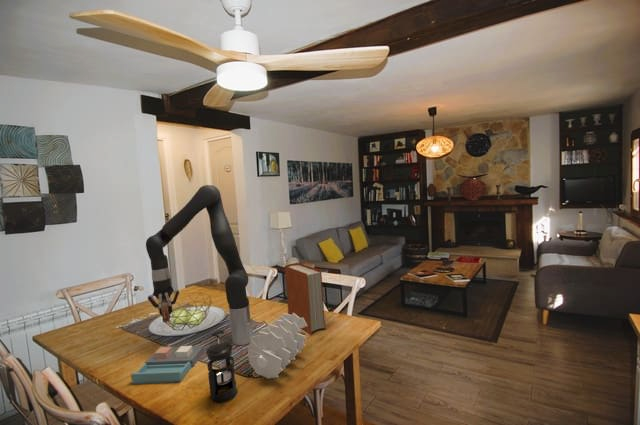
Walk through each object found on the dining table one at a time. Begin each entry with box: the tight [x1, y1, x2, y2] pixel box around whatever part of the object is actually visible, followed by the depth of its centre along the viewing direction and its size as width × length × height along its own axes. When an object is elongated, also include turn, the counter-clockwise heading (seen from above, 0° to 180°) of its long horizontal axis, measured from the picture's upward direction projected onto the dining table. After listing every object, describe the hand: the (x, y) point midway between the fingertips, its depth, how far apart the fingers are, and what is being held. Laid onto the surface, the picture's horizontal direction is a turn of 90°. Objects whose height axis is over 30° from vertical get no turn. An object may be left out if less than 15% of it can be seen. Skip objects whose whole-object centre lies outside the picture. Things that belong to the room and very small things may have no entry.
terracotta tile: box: [154, 346, 173, 359], centre depth 143 cm, size 5×5×2 cm
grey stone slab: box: [144, 345, 205, 368], centre depth 144 cm, size 20×12×3 cm, turn 88°
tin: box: [161, 299, 171, 323], centre depth 154 cm, size 15×3×8 cm, turn 22°
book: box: [284, 262, 326, 336], centre depth 169 cm, size 23×8×30 cm, turn 34°
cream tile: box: [175, 345, 193, 358], centre depth 143 cm, size 5×5×2 cm
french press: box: [205, 330, 238, 404], centre depth 117 cm, size 12×9×23 cm
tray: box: [130, 362, 193, 385], centre depth 133 cm, size 19×10×4 cm, turn 88°
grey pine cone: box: [246, 312, 307, 380], centre depth 134 cm, size 18×18×25 cm
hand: (166, 314), depth 154 cm, fingers closed on tin, 2 cm apart
